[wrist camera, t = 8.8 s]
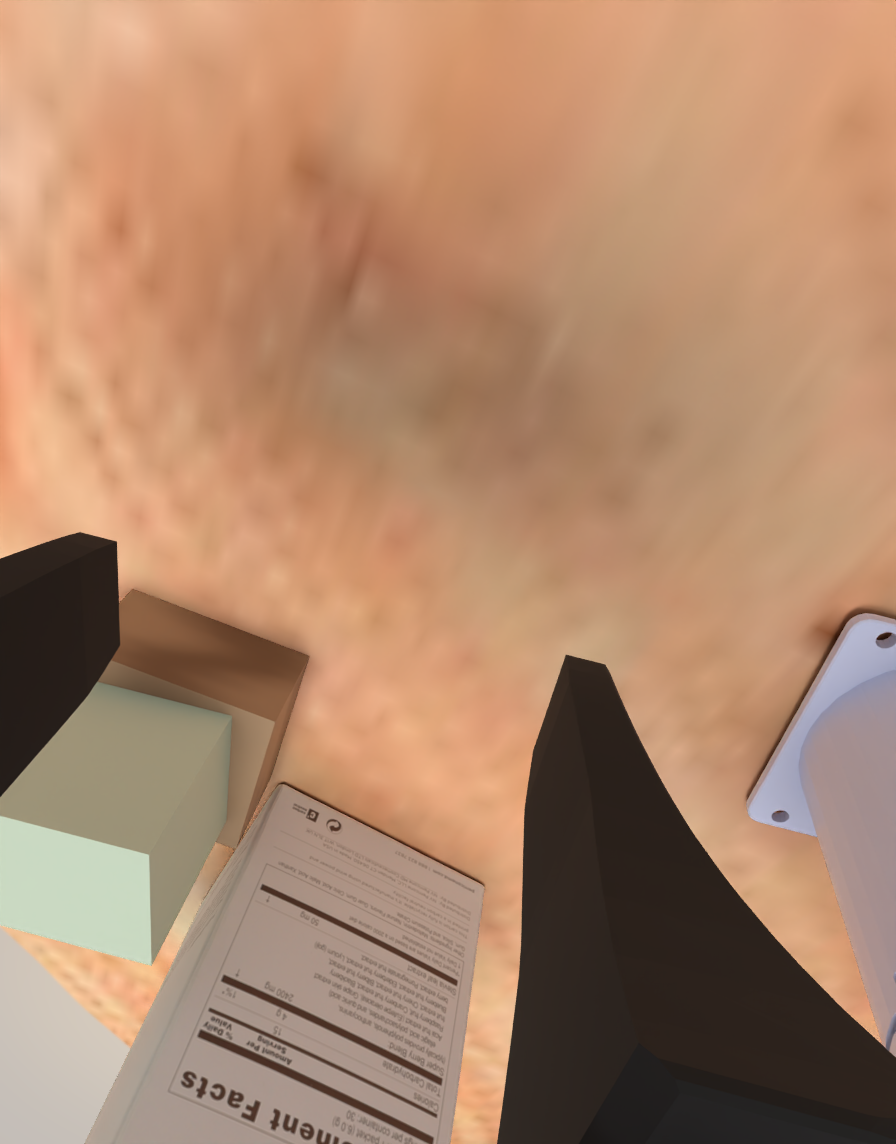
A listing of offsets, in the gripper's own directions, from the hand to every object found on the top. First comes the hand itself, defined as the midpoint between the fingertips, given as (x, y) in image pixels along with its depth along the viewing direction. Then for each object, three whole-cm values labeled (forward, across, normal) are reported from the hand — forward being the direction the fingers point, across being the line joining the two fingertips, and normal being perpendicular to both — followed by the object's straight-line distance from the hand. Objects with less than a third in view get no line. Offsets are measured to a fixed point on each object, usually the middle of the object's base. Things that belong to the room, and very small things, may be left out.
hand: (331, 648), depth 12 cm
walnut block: (+10, +6, +11) cm, 16 cm away
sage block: (+7, +6, +11) cm, 14 cm away
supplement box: (+10, 0, +20) cm, 22 cm away
